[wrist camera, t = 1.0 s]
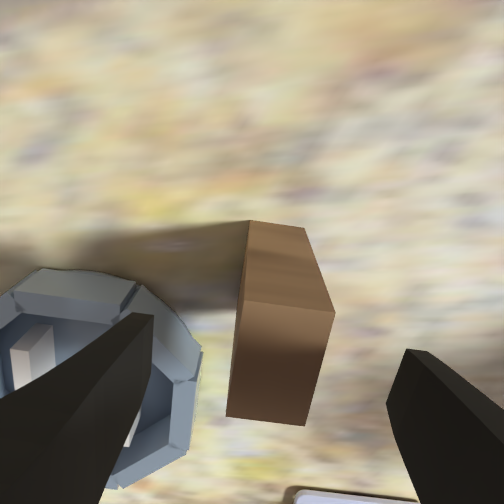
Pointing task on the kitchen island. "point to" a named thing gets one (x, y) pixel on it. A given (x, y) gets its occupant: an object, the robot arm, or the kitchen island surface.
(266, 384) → the wooden rectangular block
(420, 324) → the kitchen island surface
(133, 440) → the blue-grey octagonal tray
